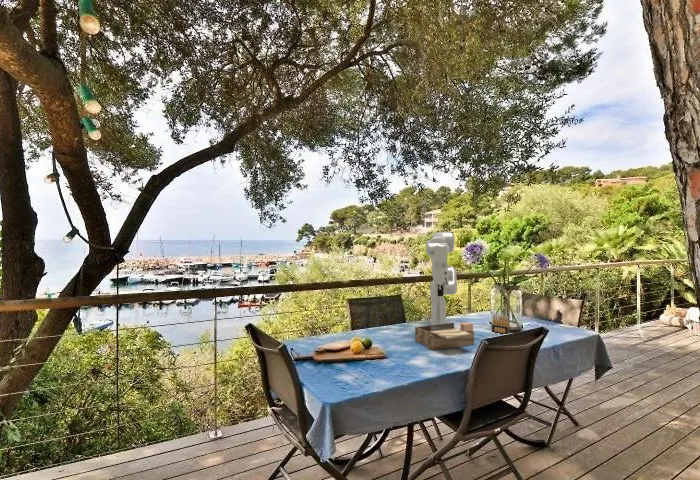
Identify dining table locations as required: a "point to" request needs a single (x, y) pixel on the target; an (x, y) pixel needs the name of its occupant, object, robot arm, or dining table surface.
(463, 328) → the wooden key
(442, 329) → the toolbox lid
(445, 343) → the toolbox
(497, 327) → the ammunition clip
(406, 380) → the dining table surface
